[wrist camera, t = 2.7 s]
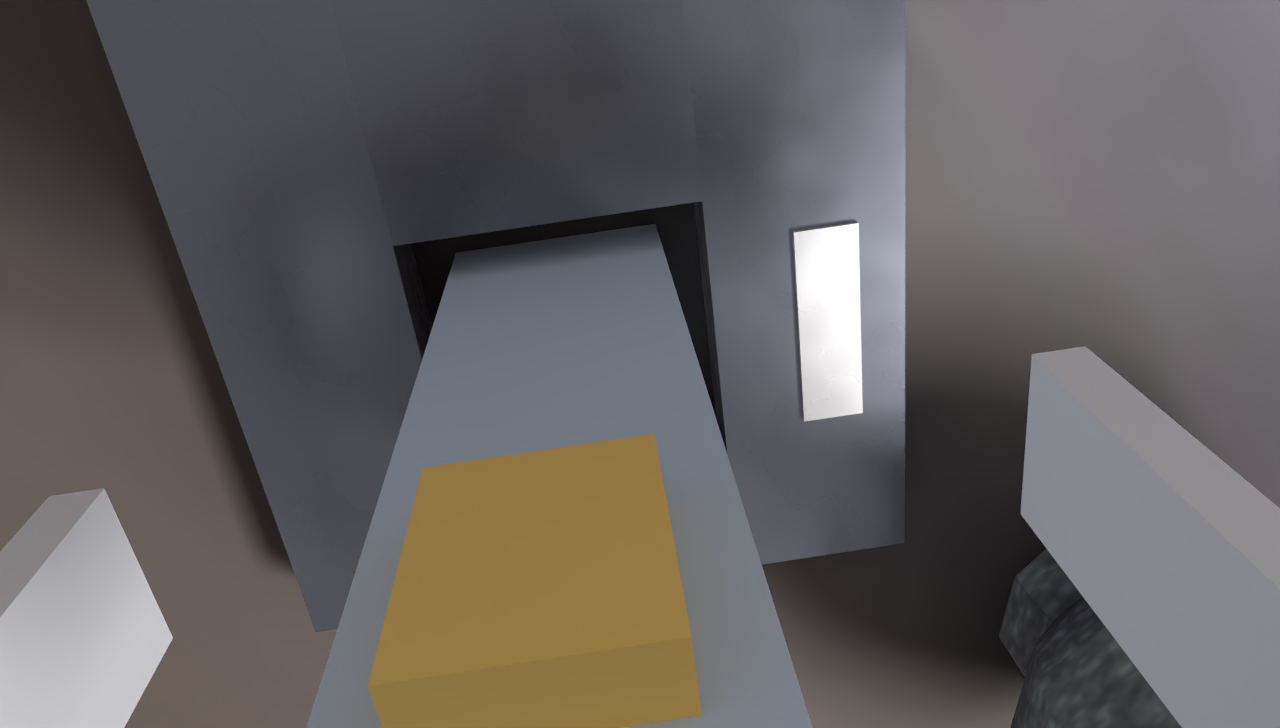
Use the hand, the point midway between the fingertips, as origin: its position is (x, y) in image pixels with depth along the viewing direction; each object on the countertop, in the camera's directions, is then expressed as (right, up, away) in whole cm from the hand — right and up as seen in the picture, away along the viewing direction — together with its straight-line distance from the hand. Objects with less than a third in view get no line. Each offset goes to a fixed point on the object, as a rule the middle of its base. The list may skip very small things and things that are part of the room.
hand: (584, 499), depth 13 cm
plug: (-1, +3, +6) cm, 7 cm away
